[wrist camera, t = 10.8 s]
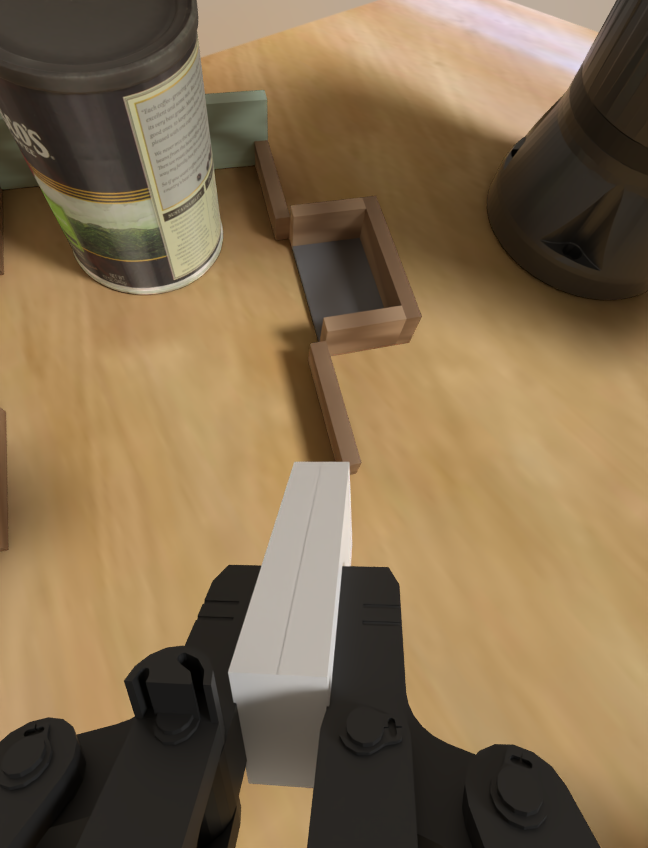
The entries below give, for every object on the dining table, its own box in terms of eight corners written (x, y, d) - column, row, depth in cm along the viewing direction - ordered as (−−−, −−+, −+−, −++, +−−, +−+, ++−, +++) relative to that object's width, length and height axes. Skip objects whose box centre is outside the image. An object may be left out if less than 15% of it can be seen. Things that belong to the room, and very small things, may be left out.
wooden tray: (339, 147, 39) (347, 84, 34) (449, 453, 30) (481, 421, 25) (-109, 189, 33) (-170, 119, 29) (-145, 583, 24) (-244, 573, 19)
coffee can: (101, 318, 31) (-21, 99, 18) (52, 205, 34) (-82, -51, 21) (249, 266, 34) (234, 43, 21) (191, 166, 37) (147, -83, 24)
